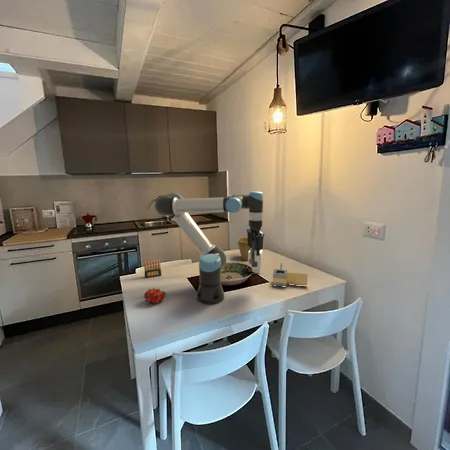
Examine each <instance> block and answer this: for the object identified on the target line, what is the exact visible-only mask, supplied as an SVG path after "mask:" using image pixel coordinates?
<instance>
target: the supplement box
mask: <svg viewBox="0 0 450 450" xmlns="http://www.w3.org/2000/svg"><path fill="white" fill-rule="evenodd" d="M263 254H264V249H262V250H260V255H259V261H258V266H257V267H252V266H251V259H250V250H249V252H248V261H247V267H248V266H250V267H252V268H253V270H254V273H253V274H257V273H258V274H259V275H261V273H262V271H263V256H264V255H263Z"/></svg>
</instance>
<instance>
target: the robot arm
mask: <svg viewBox="0 0 450 450" xmlns="http://www.w3.org/2000/svg"><path fill="white" fill-rule="evenodd" d="M263 206H264V193H263V192H262V191H256V190H254V191H249V194H229V195H227V196H225V197H204V198H203V197H200V198H199V197H198V198H196V197H195V198H184V197H182V196H181V195H180V194H178V193H175V192H171V193H170V192H169V193H168V194H163V195H160V196H159V197H157V199H156V200H155V201H154V209H155V211H156V213H157V214H159V216H162V217H168V218H169V219H170V220H171V221H174V222H175V223H176V224H177V225H178V227H179V228H180V229H181V230H182V232H183V233H184V234H185V236H186V237H187V238H188V239H189V241H190V242H191V243H192V245H193V246H194V248H195V249H196V250H197V251H198V252H199V262H198V271H199V276H198V277H199V286H198V289H197V292H196V300H197V301H198V302H199V303H201V304H205V305H215V304H218V303H221V302H223V301H224V299H225V292H224V289H223V286H222V271H223V270H224V267H226V264H227V255H226V253H225V251H224V250H222V249H220V248H218V246H217V245H216V244H213V243H211V241H210V239H208V237H207V236H206V235H205V234H204V232H203V231H202V229H201V228H200V227H199V226H198V225H197V223H196V222H195V220H194V219H193V218H192V217H191V215H190V214H196V213H197V214H198V213H200V214H202V213H231V214H235V213H238V212H240V210H242V209H243V210H245V209H247V210H248V219H249V220H248V227H249V228H247V229H246V232H247V233H246V234H247V236H246V238H247V239H248V246H249V247H250V259H251V256H252V240H255V246H256V249H255V260H254V261H259V255H260V250H264V249H263V248H264V247H263V246H264V237H265V232H262V229H261V228H262V227H263V220H262V219H263V211H264V210H263V208H264V207H263ZM249 243H250V244H249Z"/></svg>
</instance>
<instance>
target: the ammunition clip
mask: <svg viewBox="0 0 450 450" xmlns="http://www.w3.org/2000/svg"><path fill="white" fill-rule="evenodd" d="M143 263H144V266H143V267H144V268H143V269H144V279H145V278H146V279H152V278H156V277H162V271H161V270H162V269H161V261H160V258H158V260H157V258H156V259H154V258H153V259H150V260H147V261H146V260H144V262H143Z"/></svg>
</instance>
